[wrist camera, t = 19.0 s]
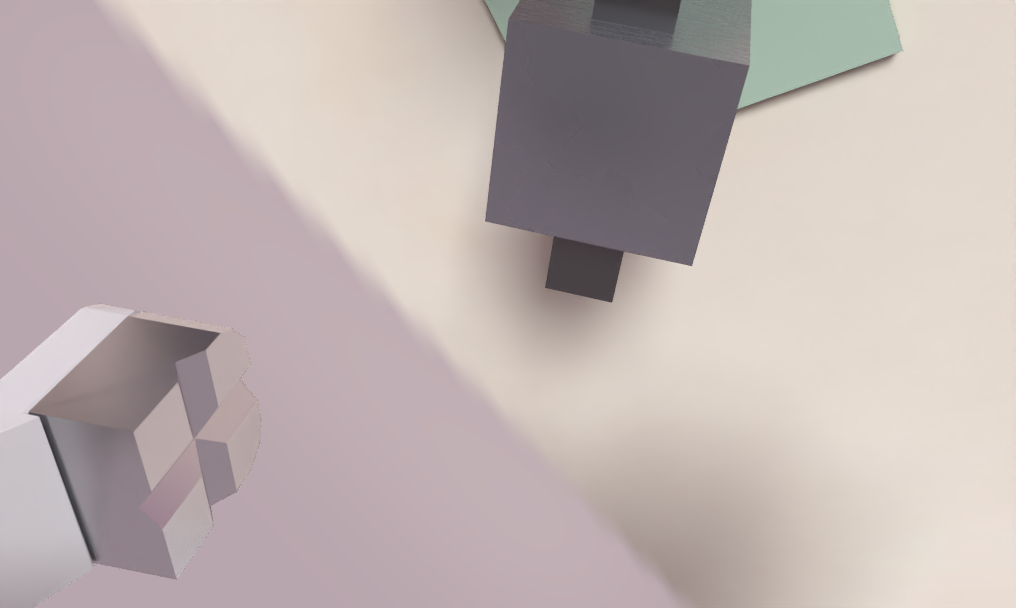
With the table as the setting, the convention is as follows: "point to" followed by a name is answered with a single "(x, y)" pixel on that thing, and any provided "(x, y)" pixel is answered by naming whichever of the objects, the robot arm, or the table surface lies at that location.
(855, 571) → the table surface
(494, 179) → the grey tabbed block
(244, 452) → the robot arm
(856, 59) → the felt pad
